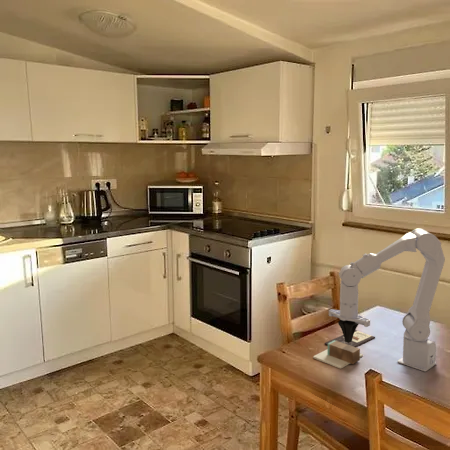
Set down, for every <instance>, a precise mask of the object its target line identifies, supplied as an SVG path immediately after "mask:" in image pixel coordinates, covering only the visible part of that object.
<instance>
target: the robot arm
mask: <svg viewBox="0 0 450 450" xmlns="http://www.w3.org/2000/svg"><path fill="white" fill-rule="evenodd" d="M442 248H443V247H442V242H441V241H440V240H439V238H438V237H437V236H436V235H435V234H433V233H430V232H429V231H427V230H426V229H425V228H421V227H418V228H415V229H413V230H411V231H409V232H406V233H405V234H404V235H402V237H400V238H399V239H397V240H395V241H393V242H392V243H391V244H388V245H387V246H386V247H384V248H383V249H382V250H379V251H378V252H376V253H372V252H370V253H364V254H362V257H360V258H358V259H357V260H355V261H354V262H353V261H351V262H350V263H349V264H346V265H344V266H342V267H341V268H340V271H339V272H338V275H339V276H338V277H339V278H340V279H341V280H340V283H339V284H340V285H339V286H340V288H339V309H330V310H328V316H329V317H333V318H338V319H339V321H337V322H338V323H337V324H338V326H339V327H340V330H341V331H342V335H344V339H345V342H348V343H349V342H351V341H352V338H353V335H354V332H355V330H357V327H358V326H359V325H362V326H364V327H365V328H368V327H370V326H371V319H369V318H365V317H364V316H362V315H360V314H359V286H358V285H359V283H360V282H361V279H363V278H366V277H367V276H369V275H371V274H373V273H374V272H376V271H378V270H379V269H381V265H382V264H383V263H384V262H386V261H388V260H390V259H392V258H394V257H396V256H398V255H399V254H402V253H404V252H411V253H417V251H419V252H420V254H421V255H422V257H423V258H424V259H425V263H424V264H423V265H424V266H423V269H422V273H421V274H420V279H419V283H418V287H417V290H416V293H415V295H414V300H413V303H412V305H411V307H409V308H408V311H407V313H406V314H405V315H404V316H403V317H402V325H403V328H404V329H405V331H403V343H402V344H403V346H402V357H401V358H399V359H398V360H397V363H399V364H402V365H404V366H406V367H410V368H413V369H415V370H416V369H417V370H420V371H422V372H427V371H429V370H430V369H432V368H433V367H434V366H435V365H437V362H436V359H437V358H436V356H437V352H436V351H437V344H436V343H435V342H434V341H433V340H430V339H429V337H430V335H431V330H430V324H431V315H430V312H431V308H432V305H433V301H434V298H435V294H436V291H437V288H438V285H439V281H440V278H441V275H442V272H443V269H444V264H445V262H446V261H445V260H446V257H445V255H444V251H443V249H442Z"/></svg>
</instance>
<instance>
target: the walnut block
mask: <svg viewBox="0 0 450 450" xmlns="http://www.w3.org/2000/svg"><path fill="white" fill-rule="evenodd" d="M327 349H328V350H327ZM327 349H326V350H327V355H330V356H332V357H335V358H338V359H340V360H343V361H346V362H348V363H350V364H351V365H354V364H355V363H358V362H359V361H360V360H361V357H360V354H361V349H360V348H359V347H353V346H350V345H347V344H344V343H341V342H338V341H335V340H334V341H332V342H330V343H328V346H327Z"/></svg>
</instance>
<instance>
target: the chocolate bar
mask: <svg viewBox="0 0 450 450" xmlns="http://www.w3.org/2000/svg"><path fill="white" fill-rule="evenodd" d="M374 339H376V336H375V335H374V336H373V335H371V334H368V333H365V332H362V331H360V330H357V329H356V330H355V332H354V335H353V338H352V341H351V342H349V343H348V342H345V339H344V335H343V334H342V335H340V336H337V337H335V338H333V339H330V340H328V341H326V342H324V345H325V346H327V347H328V343H330V342H332V341H334V340H335V341H338V342H341V343H344V344H347V345H350V346H353V347H356V348H359V346H362V345H363V344H366V343H368V342H371V341H372V340H374Z"/></svg>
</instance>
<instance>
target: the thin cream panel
mask: <svg viewBox="0 0 450 450" xmlns="http://www.w3.org/2000/svg"><path fill="white" fill-rule="evenodd" d="M327 350H328V348H327V349H325V350H323V351H321V352H319V353H317V354H314V355H313V357H312V358H313V359H314V360H317V361H319V362H322V363H325V364H328V365H329V366H333V367H335V368H336V369H337V368H338V369H340V370H341V369H343V368H344V367H345V368H346V366H348V365H350V364H351V363H348V362H346V361H343V360H340V359H338V358H335V357H332V356H330V355H327ZM363 355H364V354H362V353H360V358H362V357H363Z"/></svg>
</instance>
